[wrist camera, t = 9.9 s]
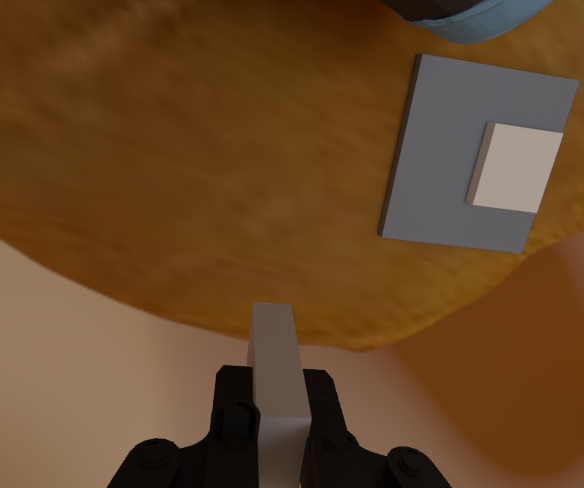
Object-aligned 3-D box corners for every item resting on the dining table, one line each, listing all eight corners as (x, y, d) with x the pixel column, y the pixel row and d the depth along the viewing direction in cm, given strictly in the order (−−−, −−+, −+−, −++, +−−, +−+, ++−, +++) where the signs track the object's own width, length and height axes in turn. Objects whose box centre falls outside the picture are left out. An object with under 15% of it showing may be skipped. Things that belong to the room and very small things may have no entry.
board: (417, 54, 43) (422, 53, 42) (569, 80, 45) (579, 80, 44) (377, 233, 49) (381, 237, 48) (514, 248, 51) (521, 253, 50)
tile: (496, 123, 43) (563, 133, 44) (487, 121, 45) (552, 131, 46) (472, 204, 46) (536, 213, 47) (464, 200, 47) (526, 208, 48)
